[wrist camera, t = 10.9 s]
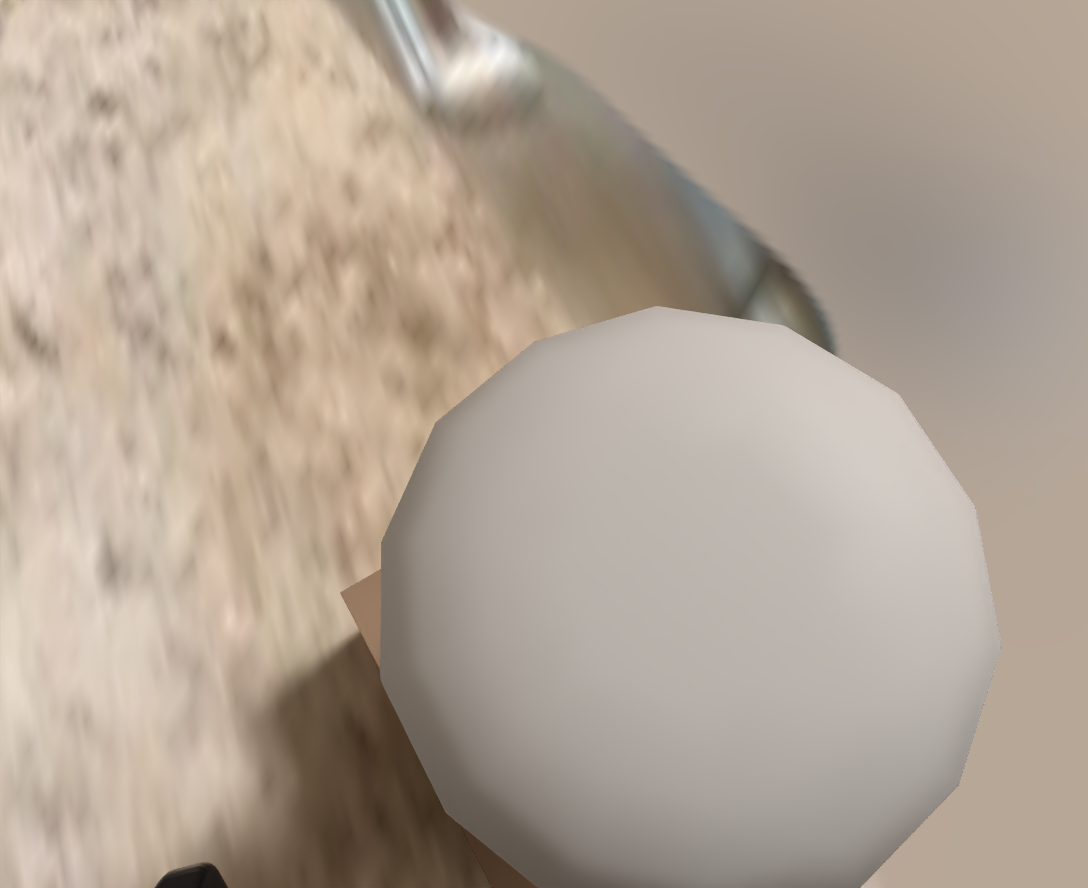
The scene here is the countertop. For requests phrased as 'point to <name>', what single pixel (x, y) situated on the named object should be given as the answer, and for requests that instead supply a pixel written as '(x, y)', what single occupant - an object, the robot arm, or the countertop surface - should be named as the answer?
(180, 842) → the countertop surface
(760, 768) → the salt shaker
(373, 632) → the walnut plinth
